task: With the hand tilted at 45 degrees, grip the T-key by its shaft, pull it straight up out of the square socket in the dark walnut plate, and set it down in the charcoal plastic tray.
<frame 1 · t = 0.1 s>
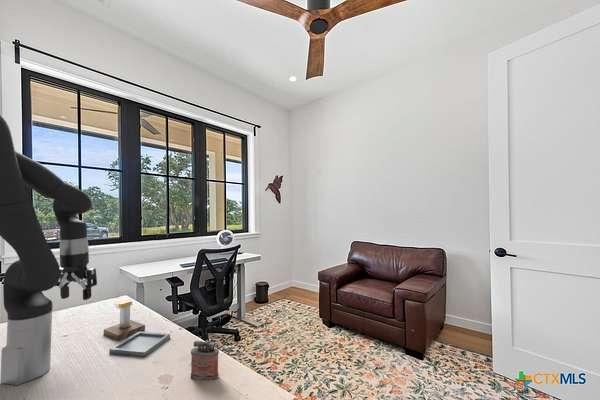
hand: (76, 298, 91), 17 cm above the table, tool pointing down, fingers open, 8 cm apart
tray: (141, 345, 94), on the table
socket plate: (124, 332, 104), on the table
lighter: (204, 377, 76), on the table
key: (125, 317, 104), in the socket plate
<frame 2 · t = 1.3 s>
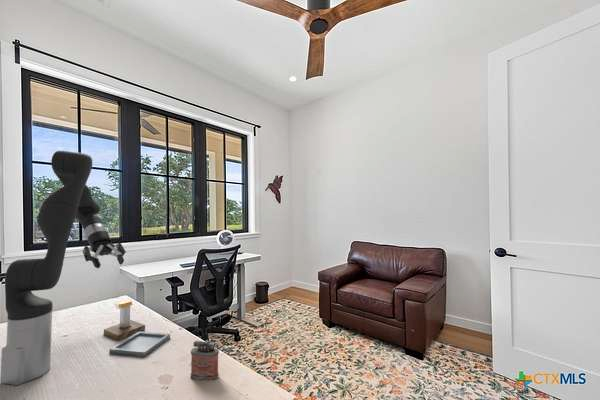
hand: (110, 265, 110), 25 cm above the table, tool tilted 45°, fingers open, 8 cm apart
nothing on the table moved.
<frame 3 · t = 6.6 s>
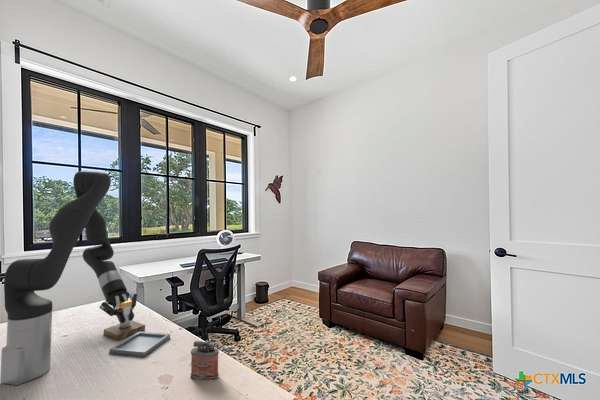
hand: (128, 320, 103), 5 cm above the table, tool tilted 45°, fingers closed on key, 2 cm apart
key: (125, 317, 104), in the socket plate, touching gripper
everything else where it was.
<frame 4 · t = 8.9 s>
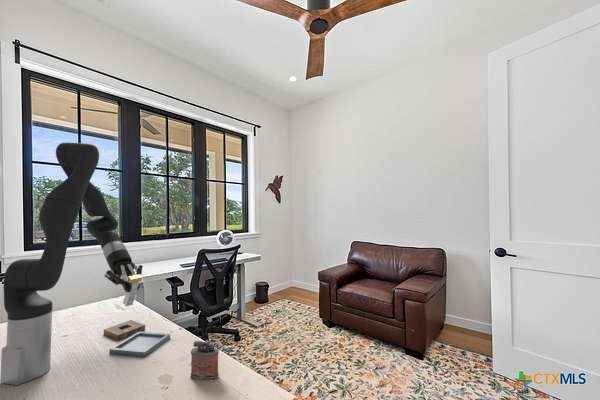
hand: (133, 289, 100), 18 cm above the table, tool tilted 45°, fingers closed on key, 2 cm apart
key: (131, 290, 101), point 17 cm above the table, tilted 23°, touching gripper
everything else where it was.
when the fingers open (7 cm above the table, at t = 11.5 s): key drops 4 cm and tips over, resting on tray.
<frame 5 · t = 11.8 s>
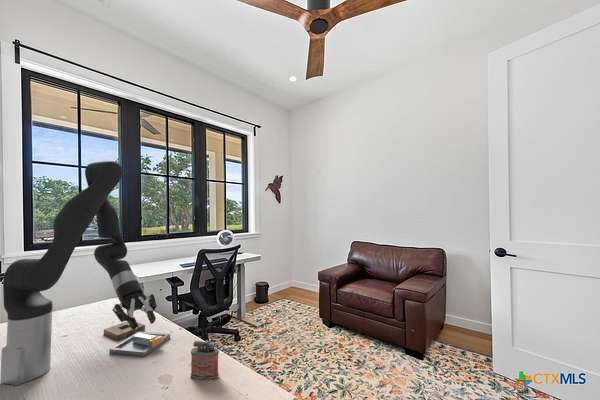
hand: (145, 325, 93), 7 cm above the table, tool tilted 45°, fingers open, 5 cm apart
key: (146, 339, 93), point 2 cm above the table, tilted 85°, touching tray
everything else where it was.
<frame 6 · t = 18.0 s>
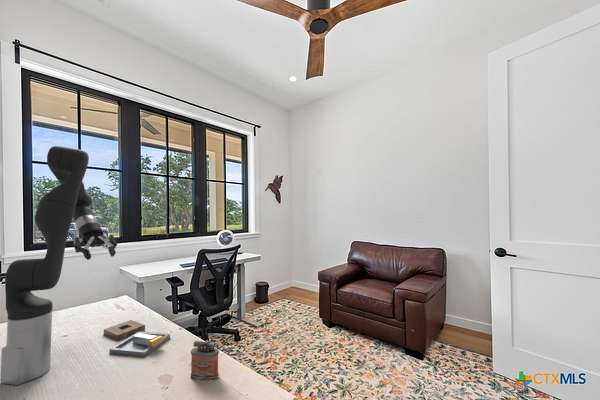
hand: (101, 256, 108), 29 cm above the table, tool tilted 45°, fingers open, 8 cm apart
nothing on the table moved.
at the end: key inside the target area on the tray (3.4 cm from its centre), point 2.4 cm above the tray's base; key moved 12.9 cm from its start; the gripper is holding nothing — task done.
